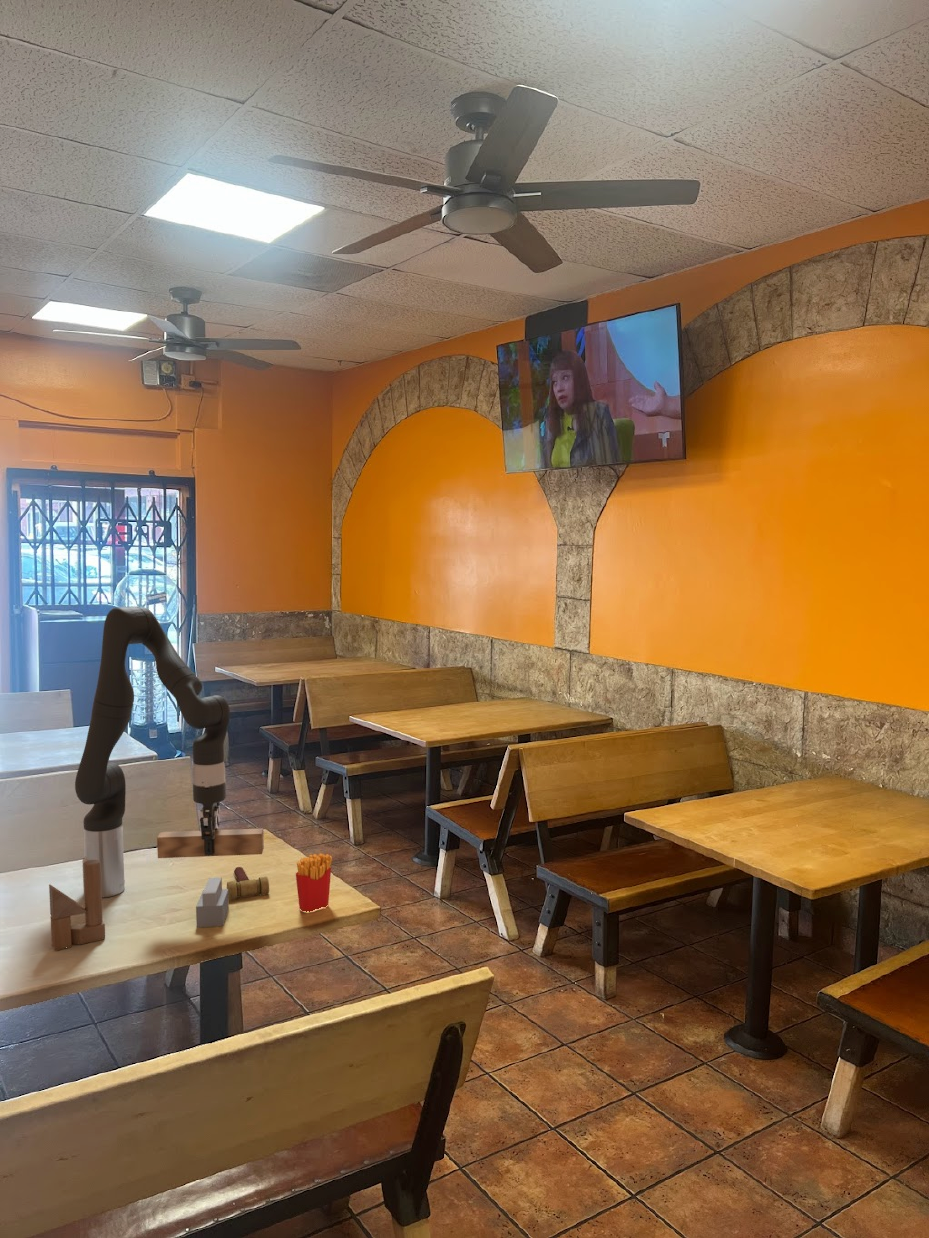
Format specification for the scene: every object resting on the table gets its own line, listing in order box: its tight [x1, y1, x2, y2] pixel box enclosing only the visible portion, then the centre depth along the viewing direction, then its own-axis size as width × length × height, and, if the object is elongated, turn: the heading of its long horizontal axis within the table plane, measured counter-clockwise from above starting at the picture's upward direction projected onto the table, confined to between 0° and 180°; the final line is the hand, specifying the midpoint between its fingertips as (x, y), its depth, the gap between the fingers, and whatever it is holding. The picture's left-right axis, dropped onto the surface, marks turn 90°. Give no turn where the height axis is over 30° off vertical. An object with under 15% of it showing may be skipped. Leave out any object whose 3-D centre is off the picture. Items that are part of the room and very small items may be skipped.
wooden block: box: [48, 860, 106, 951], centre depth 205 cm, size 4×11×18 cm, turn 125°
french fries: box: [295, 852, 333, 912], centre depth 224 cm, size 9×4×13 cm, turn 128°
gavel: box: [226, 866, 270, 901], centre depth 240 cm, size 21×5×10 cm
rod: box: [156, 828, 265, 859], centre depth 217 cm, size 24×4×5 cm, turn 97°
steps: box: [195, 876, 230, 928], centre depth 219 cm, size 6×10×8 cm, turn 7°
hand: (211, 850), depth 217 cm, fingers closed on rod, 4 cm apart
